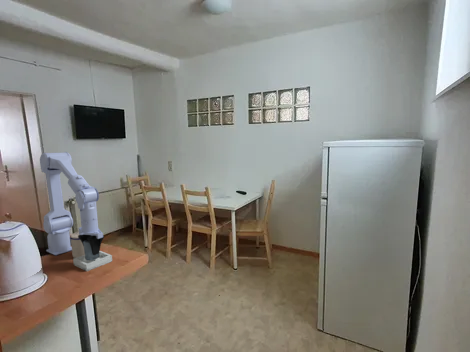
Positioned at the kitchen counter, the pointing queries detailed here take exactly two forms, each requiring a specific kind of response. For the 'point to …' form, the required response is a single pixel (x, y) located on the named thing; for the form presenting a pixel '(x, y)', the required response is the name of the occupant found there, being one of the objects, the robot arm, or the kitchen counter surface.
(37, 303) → the kitchen counter surface
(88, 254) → the tumbler
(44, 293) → the kitchen counter surface
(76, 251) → the teacup with lid
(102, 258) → the tray
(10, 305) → the kitchen counter surface
